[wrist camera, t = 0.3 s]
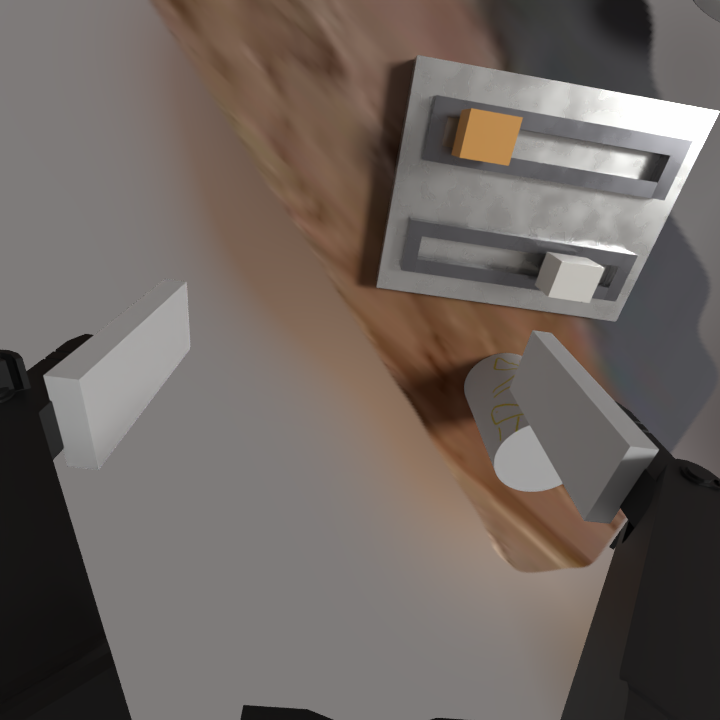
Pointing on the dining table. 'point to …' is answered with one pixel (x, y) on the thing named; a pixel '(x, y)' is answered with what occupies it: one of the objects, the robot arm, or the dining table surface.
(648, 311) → the dining table surface
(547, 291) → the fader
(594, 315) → the console
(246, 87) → the dining table surface
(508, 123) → the block
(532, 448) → the cup
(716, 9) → the mug
